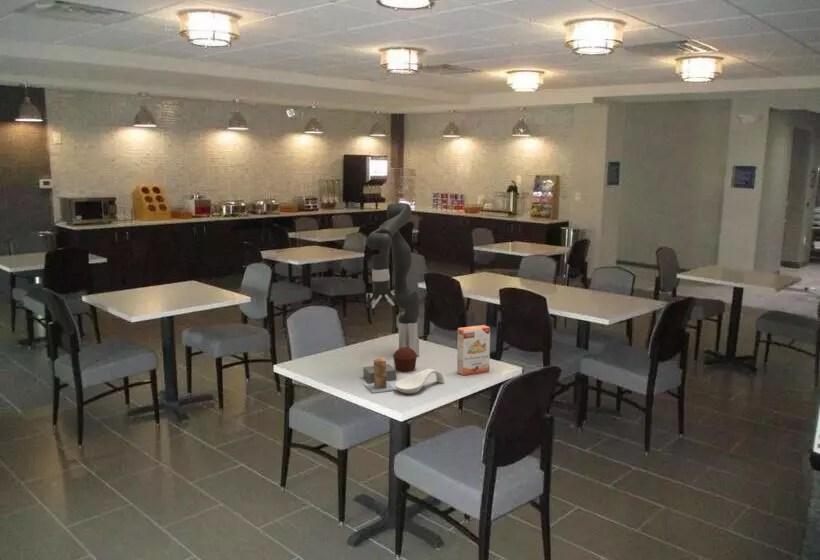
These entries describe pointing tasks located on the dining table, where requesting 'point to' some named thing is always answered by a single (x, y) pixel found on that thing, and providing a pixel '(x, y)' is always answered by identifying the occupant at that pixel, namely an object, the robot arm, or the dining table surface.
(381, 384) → the walnut plug
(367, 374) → the block
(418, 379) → the spoon rest
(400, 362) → the muffin
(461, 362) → the cracker box
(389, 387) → the rubber mat
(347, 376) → the dining table surface
